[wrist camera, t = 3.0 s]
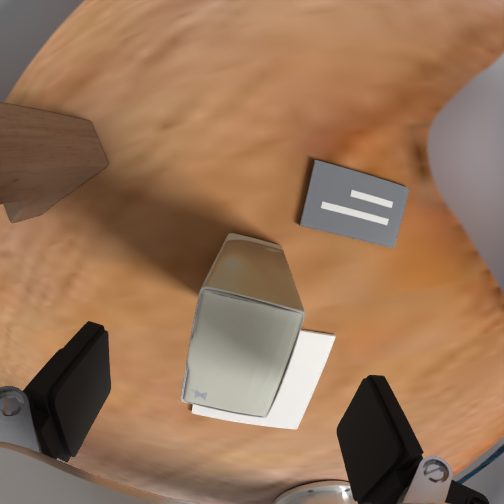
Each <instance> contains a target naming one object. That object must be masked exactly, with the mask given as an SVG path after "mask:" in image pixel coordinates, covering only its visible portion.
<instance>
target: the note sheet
mask: <svg viewBox="0 0 504 504" xmlns="http://www.w3.org/2000/svg"><path fill="white" fill-rule="evenodd" d="M335 337H336V336H335V335H333V334H327V333H320V332H314V331H307V330H301V331H300V334H299V337H298V340H297V344H296V347H295V350H294V353H293V356H292V359H291V362H290V364H289V367H288V370H287V373H286V376H285V378H284V381H283V383H282V386H281V388H280V391H279V393H278V396H277V398H276V400H275V402H274V404H273V406H272V409H271V410H270V412H269V414H268V416H267V417H266V418H259V417H252V416H244V415H239V414H233V413H228V412H224V411H219V410H214V409H210V408H206V407H201V406H198V405H194V404H193V407H192V413H193V414H198V415H202V416H207V417H212V418H217V419H223V420H228V421H234V422H240V423H247V424H253V425H261V426H268V427H277V428H286V429H297V427H298V425H299V423H300V421H301V419H302V417H303V415H304V412H305V410H306V408H307V406H308V403H309V401H310V399H311V397H312V394H313V392H314V390H315V387H316V385H317V383H318V380H319V378H320V375H321V373H322V370H323V368H324V366H325V363H326V361H327V358H328V355H329V353H330V350H331V348H332V345H333V342H334V340H335Z"/></svg>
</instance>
